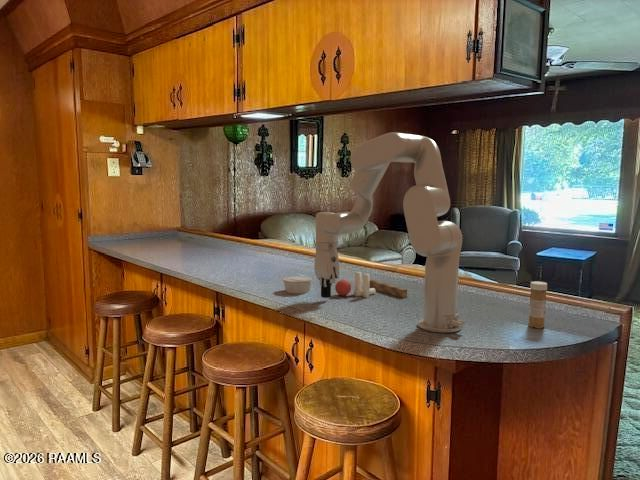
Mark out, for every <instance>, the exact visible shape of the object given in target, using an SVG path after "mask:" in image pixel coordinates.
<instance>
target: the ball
mask: <svg viewBox="0 0 640 480" xmlns="http://www.w3.org/2000/svg"><path fill="white" fill-rule="evenodd" d="M335 283H336V284H335V286H334V289H335V292H336V293H337V294H338V295H339V296H343V297H344V296H347V295H349V293H350V292H351V290H352V285H351V283H350V282H349V281H348V280H346V279H340V280H338V281H336V282H335Z"/></svg>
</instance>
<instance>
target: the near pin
mask: <svg viewBox="0 0 640 480" xmlns="http://www.w3.org/2000/svg"><path fill="white" fill-rule="evenodd" d="M370 276H371V275H370V274H369V273H364V274H363V275H362V289H363V296H362V298H370V295H369V282H370V279H371V278H370Z"/></svg>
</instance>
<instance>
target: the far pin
mask: <svg viewBox="0 0 640 480" xmlns="http://www.w3.org/2000/svg"><path fill="white" fill-rule="evenodd" d="M355 290H362V271H355V272H354V291H355Z"/></svg>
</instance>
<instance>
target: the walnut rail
mask: <svg viewBox="0 0 640 480" xmlns="http://www.w3.org/2000/svg"><path fill="white" fill-rule="evenodd" d="M369 288H375V290H376V291H378V292H383V293H386V294H389V295H392V296H395V297H398V298H403V299H404V298H407V297H408V289H407V288H402V287H399V286H396V285H392V284H388V283H385V282H382V281H379V280H374V279H372V278H370V282H369Z"/></svg>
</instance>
